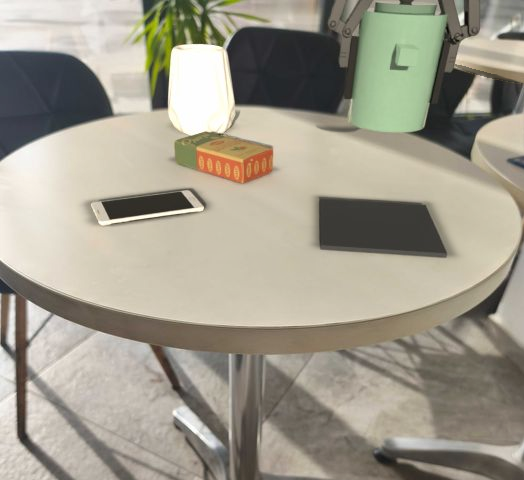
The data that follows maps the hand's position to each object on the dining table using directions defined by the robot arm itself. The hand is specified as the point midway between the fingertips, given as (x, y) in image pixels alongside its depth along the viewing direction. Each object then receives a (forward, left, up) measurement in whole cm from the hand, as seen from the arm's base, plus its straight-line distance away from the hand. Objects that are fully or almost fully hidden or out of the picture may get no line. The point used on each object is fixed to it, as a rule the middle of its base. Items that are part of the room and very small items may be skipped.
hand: (389, 99), depth 63 cm
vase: (+32, -41, -16) cm, 55 cm away
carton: (+24, -17, -16) cm, 34 cm away
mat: (-1, +4, -16) cm, 16 cm away
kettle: (0, 0, -3) cm, 3 cm away
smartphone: (+32, +3, -16) cm, 36 cm away
